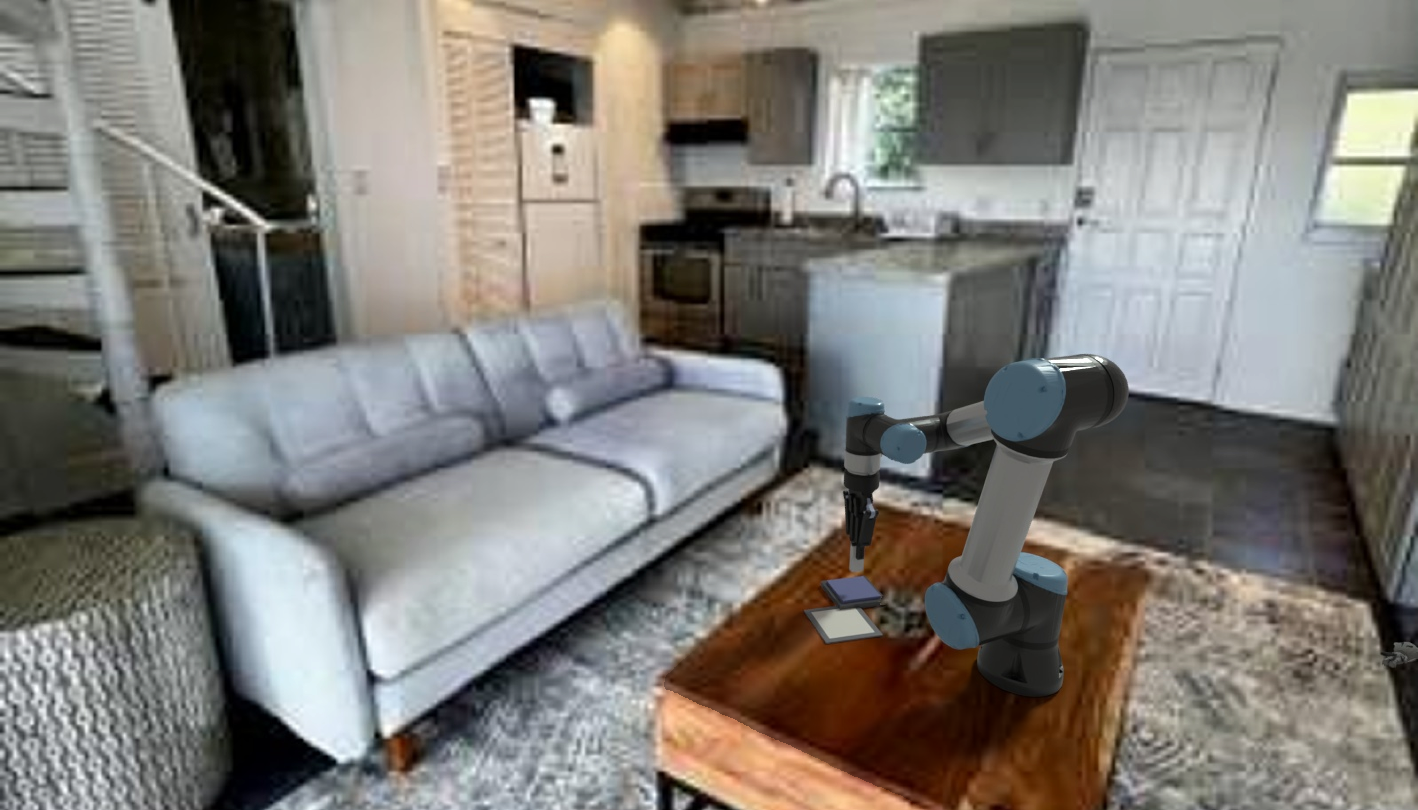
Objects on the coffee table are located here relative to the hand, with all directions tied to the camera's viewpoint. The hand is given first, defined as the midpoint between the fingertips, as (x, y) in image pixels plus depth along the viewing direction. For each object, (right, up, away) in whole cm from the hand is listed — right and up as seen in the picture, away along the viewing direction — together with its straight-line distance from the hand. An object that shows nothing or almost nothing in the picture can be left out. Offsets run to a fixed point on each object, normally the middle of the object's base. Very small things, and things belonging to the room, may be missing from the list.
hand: (856, 569), depth 167 cm
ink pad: (0, -6, +2) cm, 7 cm away
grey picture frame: (-5, -9, -9) cm, 14 cm away
